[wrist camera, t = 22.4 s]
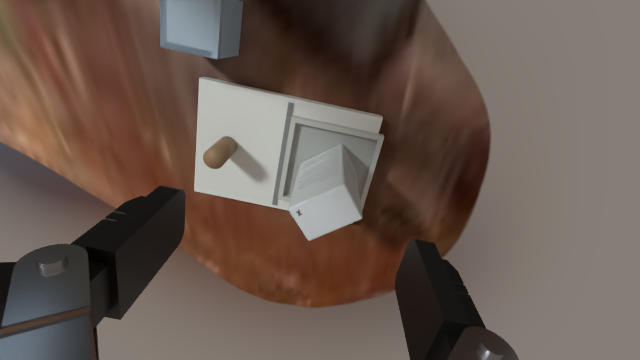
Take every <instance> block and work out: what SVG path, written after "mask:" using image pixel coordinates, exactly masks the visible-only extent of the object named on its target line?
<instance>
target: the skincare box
mask: <svg viewBox="0 0 640 360" xmlns="http://www.w3.org/2000/svg"><path fill="white" fill-rule="evenodd" d="M288 210H289V212H290V213H291V215H292V216H293V218H294V219H295V221H296V222H297V224H298V225H299V227H300V229H301V230H302V232H303V233H304V235H305V236H306V238H307V239H308V241H310V240H312V239H315V238H317V237H320V236H322V235H325V234H327V233H329V232H332V231H334V230H336V229H339V228H341V227H343V226H346V225H348V224H351V223H353V222H355V221H358V220H360V219H362V218H363V217H362V210H361V203H360V197H359V190H358V183H357V176H356V170H355V168H354V166H353V164H352V162H351V160H350V158H349V156H348V154H347V152H346V150H345V148H344V146H343V144H340V145H338V146H336V147H334V148H332V149H329V150H327V151H325V152H323V153H321V154H319V155H317V156H315V157H313V158H311V159H308V160H306V161H304V162H302V163H301V164H300V167H299V171H298V174H297V178H296V181H295V185H294V188H293V192H292V195H291V199H290V202H289V205H288Z"/></svg>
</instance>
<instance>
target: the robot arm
mask: <svg viewBox="0 0 640 360" xmlns="http://www.w3.org/2000/svg"><path fill="white" fill-rule="evenodd" d="M184 225H185V192H184V190H181V189H176V188H171V187H166V186H159V187H157V188H156V189H155V190H154V191H153V192H151V193H150V194H149V195H148V196H146V197H143V196H140V197H137V198H135V199H132V200H129V201H127V202H125V203H124V204H122V205H121V206H120V207H118V208H117V209H116V210H115V211H114V212H112V213H111V214H109V215H108V216H107V217H105V220H101V221H100V222H99V223H97V224H96V225H95V226H94V227H92V228H91V229H90V230H88V231H87V232H86V233H84V234H83V235H82V236H81V237H79V238H78V239H76V240H75V241H74V242H73V243H71V244H56V245H50V246H46V247H42V248H39V249H36V250H34V251H32V252H30V253H28V254H26V255H25V256H23V257H22V258H20V259H19V260H18V261H17V262H3V263H0V360H99V352H98V336H97V325H98V324H99V322H100V321H101V320H102V319H103V318H104V317H109V318H114V319H119V320H120V319H121V318H122V317H123V316H124V314H125V313H126V312H127V310H128V309H129V308H130V307H131V306H132V304H133V303H134V302H135V300H136V299H137V298H138V296H139V295H140V294H141V293H142V291H143V290H144V289H145V287H146V286H147V285H148V283H149V282H150V281H151V280H152V279H153V277H154V276H155V275H156V273H157V272H158V270H160V268H161V267H162V266H163V264H164V263H165V262H166V261H167V259H168V258H169V257H170V256H171V254H172V253H173V252H174V250H175V249H176V248H177V247H178V245H179V244H180V242H181V239H182V237H183V233H184ZM395 290H396V295H397V300H398V305H399V309H400V314H401V319H402V323H403V328H404V332H405V337H406V342H407V347H408V352H409V356H410V360H519V359H518V356H517V355H516V353H515V351H514V350H513V349H512V347H511V346H510V345H509V344H508V343H507V342H506V341H505V340H504V339H503V338H501V337H500V336H498V335H497V334H495V333H494V332H492V331H490V330H488V329H486V327H485V325H484V323H483V321H482V319H481V317H480V315H479V313H478V311H477V309H476V307H475V305H474V303H473V301H472V299H471V297H470V295H468V291H467V289H466V287H465V286H464V285H463V281H462V279H461V277H460V275H459V273H458V271H457V270H456V269H455V268H454V267H453V266H452V265H451V264H450V263H449V262H448V261H447V260H444V259H442V258H441V256H440V254H439V252H438V249H437V247H436V245H435V244H434V243H432V242H427V241H422V240H418V239H411V240H410V241H409V243H408V246H407V248H406V251H405V254H404V256H403V259H402V261H401V264H400V266H399V269H398V272H397V275H396V280H395Z"/></svg>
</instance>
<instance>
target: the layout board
mask: <svg viewBox="0 0 640 360" xmlns="http://www.w3.org/2000/svg"><path fill="white" fill-rule="evenodd" d="M382 120H383V117H382V115H377V114H373V113H368V112H364V111H359V110H354V109H350V108H345V107H341V106H336V105H332V104H327V103H322V102H318V101H313V100H309V99H304V98H300V97H295V96H291V95H286V94H281V93H277V92H272V91H268V90H263V89H259V88H254V87H249V86H245V85H240V84H236V83H231V82H227V81H222V80H217V79H213V78H208V77H201V78H199V97H198V119H197V141H196V163H195V185H194V191H197V192H202V193H207V194H211V195H216V196H221V197H226V198H231V199H235V200H240V201H245V202H250V203H255V204H259V205H264V206H269V207H274V208H279V209H283V210H288V205H289V202H290V199H291V195H292V192H293V188H294V185H295V181H296V178H297V174H298V171H299V167H300V164H301V163H302V162H304V161H306V160H308V159H311V158H313V157H315V156H317V155H319V154H321V153H323V152H325V151H327V150H329V149H332V148H334V147H336V146H338V145H340V144H343V146H344V148H345V150H346V152H347V154H348V156H349V158H350V160H351V162H352V164H353V166H354V168H355V170H356V176H357V183H358V190H359V197H360V203H361V210H363V207H364V204H365V200H366V197H367V194H368V190H369V187H370V184H371V180H372V177H373V173H374V170H375V167H376V163H377V160H378V157H379V153H380V150H381V147H382V143H383V140H384V135H383V134H379V130H380V127H381V123H382ZM288 211H289V210H288ZM351 224H353V223H351Z"/></svg>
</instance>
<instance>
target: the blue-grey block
mask: <svg viewBox="0 0 640 360" xmlns="http://www.w3.org/2000/svg"><path fill="white" fill-rule="evenodd" d="M242 12H243V2H242V1H239V0H160V47H163V48H167V49H172V50H177V51H181V52H186V53H190V54H195V55H200V56H204V57H209V58H213V59H223V58H228V57H234V56H239V46H240V34H241V23H242Z"/></svg>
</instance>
